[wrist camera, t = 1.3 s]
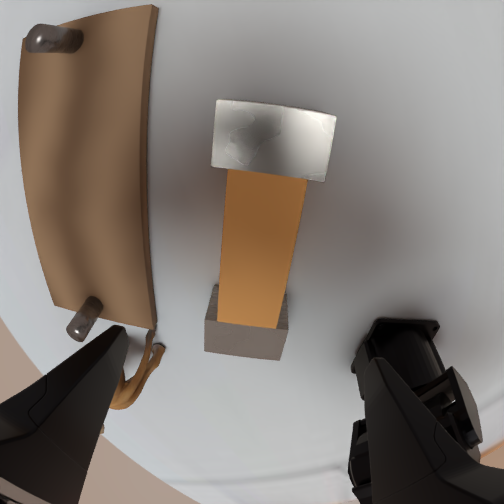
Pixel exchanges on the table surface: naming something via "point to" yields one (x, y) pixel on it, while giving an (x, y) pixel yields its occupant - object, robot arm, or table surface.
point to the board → (90, 163)
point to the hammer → (261, 218)
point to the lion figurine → (137, 376)
